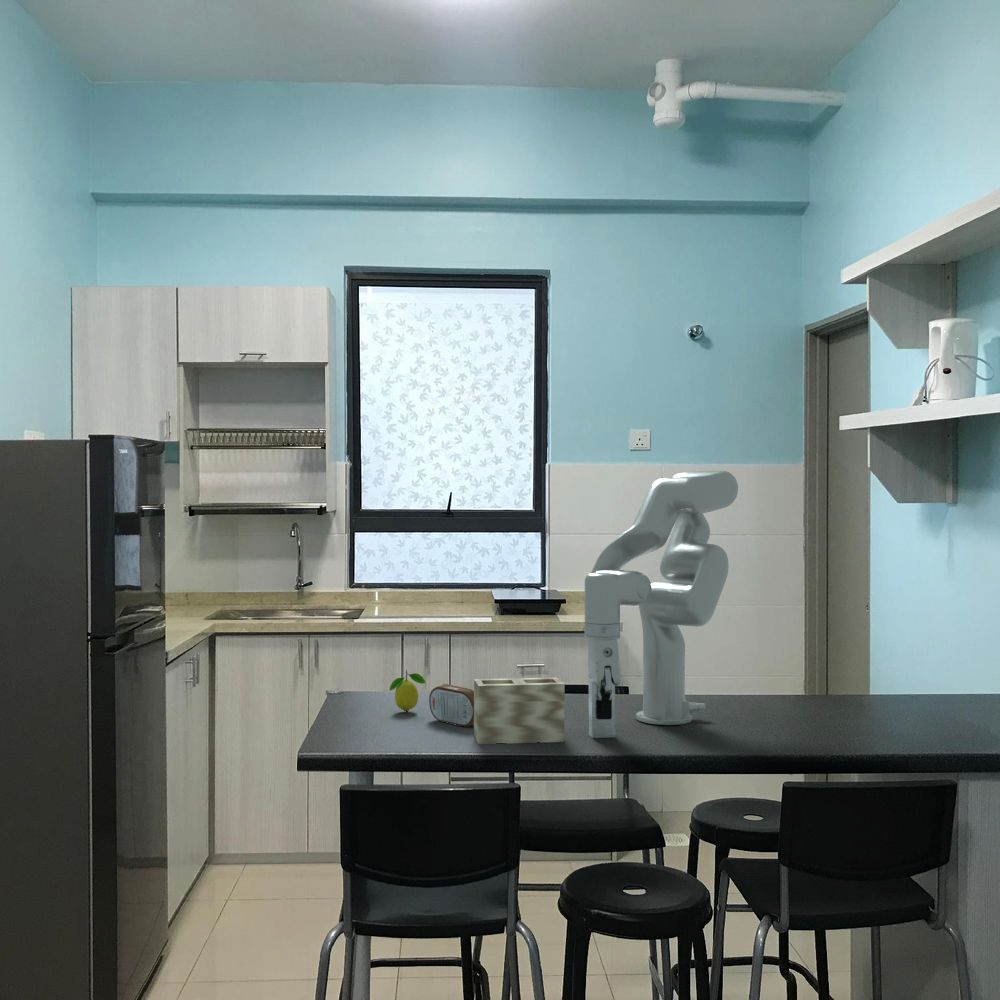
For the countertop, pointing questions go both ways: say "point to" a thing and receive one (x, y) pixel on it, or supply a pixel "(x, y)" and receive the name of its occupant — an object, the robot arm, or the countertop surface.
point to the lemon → (406, 691)
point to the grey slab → (600, 726)
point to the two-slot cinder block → (518, 710)
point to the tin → (452, 704)
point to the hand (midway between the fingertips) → (601, 716)
